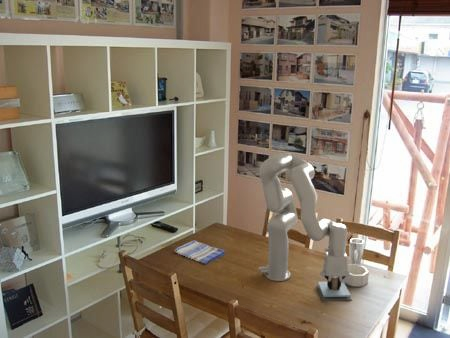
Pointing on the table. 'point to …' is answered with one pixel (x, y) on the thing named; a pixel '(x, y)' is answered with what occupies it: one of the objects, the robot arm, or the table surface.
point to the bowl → (356, 275)
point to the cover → (334, 289)
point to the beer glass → (356, 251)
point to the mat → (333, 297)
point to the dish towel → (199, 252)
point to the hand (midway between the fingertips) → (333, 287)
